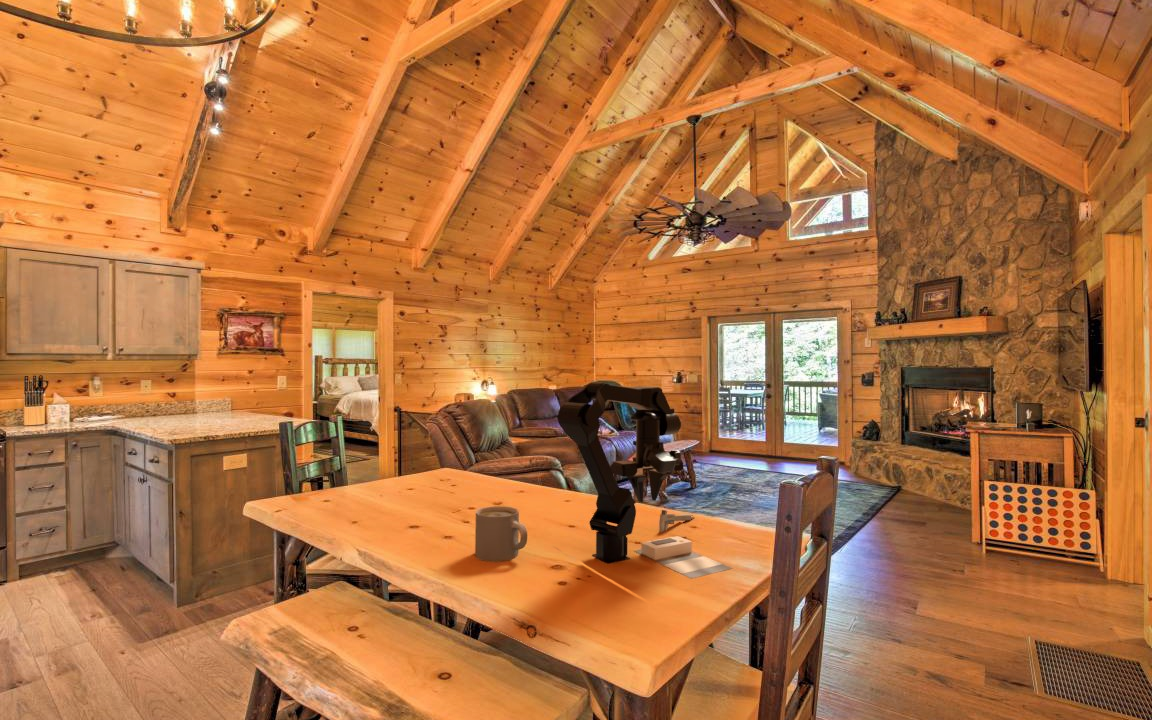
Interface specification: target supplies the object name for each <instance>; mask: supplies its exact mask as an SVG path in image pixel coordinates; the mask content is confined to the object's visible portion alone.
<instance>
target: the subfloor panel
mask: <svg viewBox="0 0 1152 720" xmlns="http://www.w3.org/2000/svg"><path fill="white" fill-rule="evenodd" d="M633 552H634V553H636V554H638V555H641V556H643V557H645V558H647V559H649V560H650V561H651V560H652V561H654V562H655V563H657V564H660V565H662V566H663V567H666V568H668V569H670V570H672V571H674V572H677V573H678V574H680V575H683V576H685V577H687V578H688V579H696V578H700V577H703V576H707V575H712V574H717V573H721V572H725V571H728V570H729V571H730V570H733V567H731V566H728V565H726V564H723V563H722V562H719V561H718V560H717V561H716V560H714V559H712V558H709V557H707V556H705V555H702V554H700V553H696V552H694V551H692V552H691V553H686V554H681V555H676V556H671V557H667V558H662V559H657V560H654V559H652V558H650V557H648V556H645V555H643V554H641V549H636V550H633Z"/></svg>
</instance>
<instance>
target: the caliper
mask: <svg viewBox="0 0 1152 720" xmlns="http://www.w3.org/2000/svg"><path fill="white" fill-rule="evenodd" d="M691 516H693V517H691ZM691 519H692V520H694V519H695V516H694V515H693V514H677V515H676V514H674V513H668V510H667V509H661V513H660V514H659V520H658V521H659V522H658V523H659V525H658V526H659V527H658V532H659V533H664V532H666V531H668V528H669V525H675V522H681V521H683V522H685V521H692V520H691Z"/></svg>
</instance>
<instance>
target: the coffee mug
mask: <svg viewBox="0 0 1152 720" xmlns="http://www.w3.org/2000/svg"><path fill="white" fill-rule="evenodd" d="M519 514H520V512H519V509H517V508H515V507H512V506H507V505H506V506H503V505H502V506H501V505H497V506H496V505H495V506H487V507H482V508H478V509H477V510H476V511H475V534H474V535H475V536H474V537H475V541H474V543H475V545H474V548H475V549H474V554H475V555H474V556H475V558H476V559H477V560H479V561H483V562H495V563H498V562H506V561H510V560H513V559H515V558H516V557H518V556H519V550H521V549H523V548H524V547H526V545H527V542H528V531H527V527H526V525H524V523H521V522H520V521H519V520H520V519H519V518H520V515H519ZM519 534H520V536H519ZM519 537H520V540H519Z"/></svg>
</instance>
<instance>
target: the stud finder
mask: <svg viewBox="0 0 1152 720" xmlns="http://www.w3.org/2000/svg"><path fill="white" fill-rule="evenodd" d="M692 544H693V542H692V541H691V540H689V539H686V538H685V537H684V538H683V537H681V536H679V535H676V536H671V537H666V538H665V537H664V538H659V539H655V540H649V541H643V542H641V546H640V547H641V554H643V555H645V556H648V557H650V558H652V559H654V560H657V559H662V558H667V557H671V556H676V555H681V554H686V553H691V552H693V549H692V548H693V545H692ZM643 555H642V556H643ZM645 556H644V557H645Z"/></svg>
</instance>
